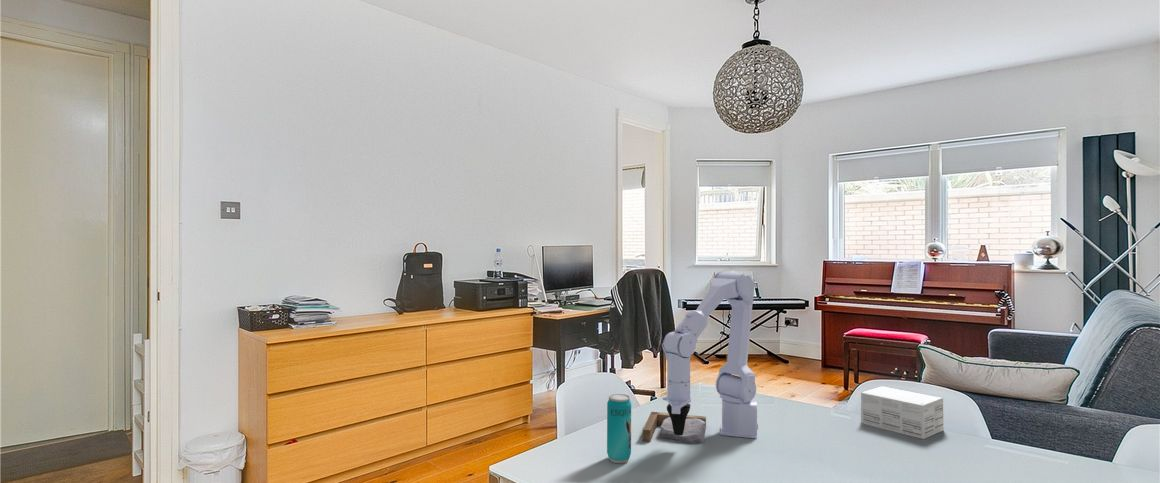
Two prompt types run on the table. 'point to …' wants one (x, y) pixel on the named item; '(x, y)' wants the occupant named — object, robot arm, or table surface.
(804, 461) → the table surface
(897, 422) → the supplement box
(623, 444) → the beverage can
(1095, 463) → the table surface
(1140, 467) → the table surface
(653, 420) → the dock
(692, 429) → the stone block
